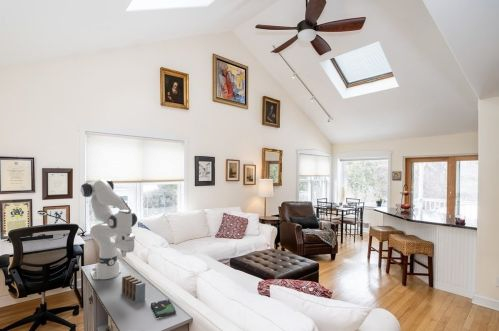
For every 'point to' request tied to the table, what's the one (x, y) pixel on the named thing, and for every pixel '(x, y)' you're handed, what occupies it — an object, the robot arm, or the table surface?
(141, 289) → the end domino
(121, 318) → the table surface
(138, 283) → the domino
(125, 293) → the domino
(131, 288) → the domino
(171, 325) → the table surface
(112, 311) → the table surface
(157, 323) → the table surface
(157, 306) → the disk drive
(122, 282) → the domino
